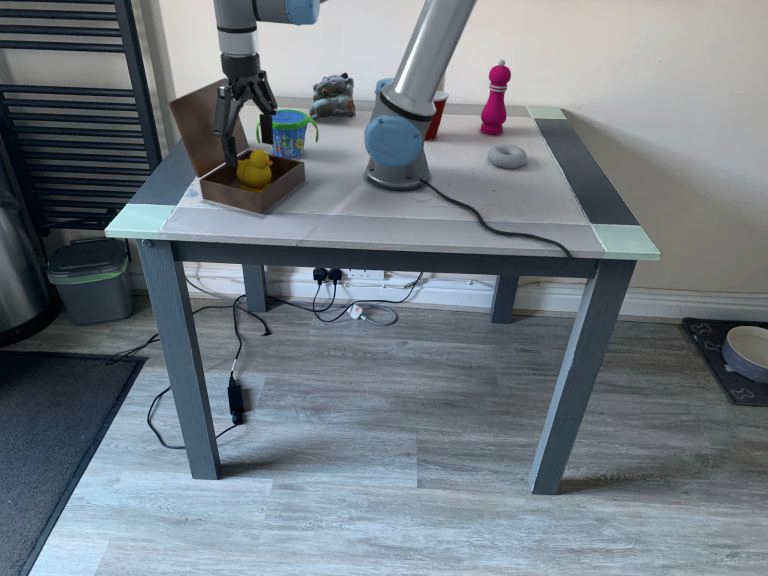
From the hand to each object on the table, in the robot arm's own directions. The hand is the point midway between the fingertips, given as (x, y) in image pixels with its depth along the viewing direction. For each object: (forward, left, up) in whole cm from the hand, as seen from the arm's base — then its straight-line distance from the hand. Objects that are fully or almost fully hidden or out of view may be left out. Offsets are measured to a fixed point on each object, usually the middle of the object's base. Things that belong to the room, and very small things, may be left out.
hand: (250, 154), depth 122 cm
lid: (+9, 0, +5) cm, 10 cm away
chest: (0, 0, -9) cm, 9 cm away
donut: (-48, -43, -9) cm, 65 cm away
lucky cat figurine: (+7, -50, -9) cm, 51 cm away
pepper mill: (-39, -62, -9) cm, 74 cm away
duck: (0, 0, -8) cm, 8 cm away
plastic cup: (-24, -49, -3) cm, 55 cm away
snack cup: (+4, -21, -9) cm, 23 cm away
